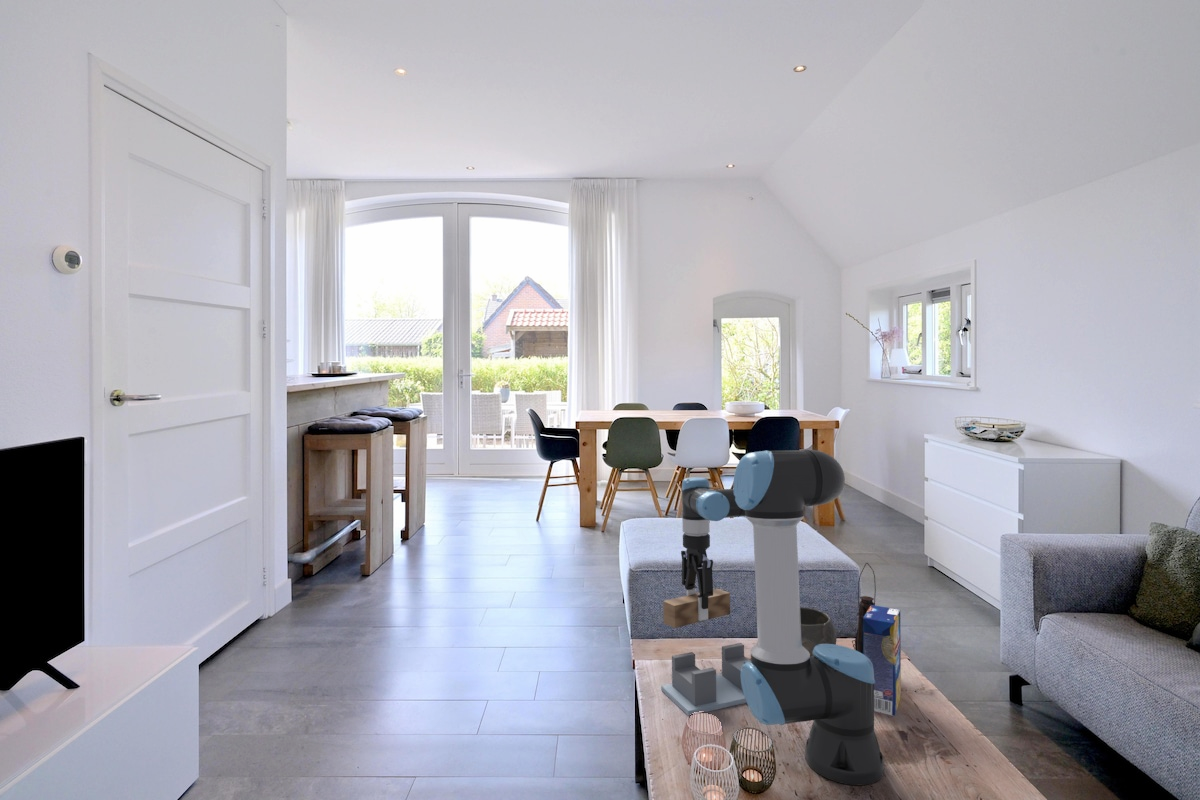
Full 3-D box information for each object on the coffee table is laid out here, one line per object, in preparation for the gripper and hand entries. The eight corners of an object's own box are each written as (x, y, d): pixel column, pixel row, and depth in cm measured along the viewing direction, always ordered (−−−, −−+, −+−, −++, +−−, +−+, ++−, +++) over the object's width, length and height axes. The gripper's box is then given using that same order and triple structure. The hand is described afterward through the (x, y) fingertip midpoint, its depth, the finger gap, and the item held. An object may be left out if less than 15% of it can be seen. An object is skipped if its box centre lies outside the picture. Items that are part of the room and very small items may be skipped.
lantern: (886, 680, 167) (886, 567, 166) (854, 678, 168) (853, 566, 168) (879, 667, 174) (879, 559, 174) (848, 665, 176) (848, 558, 176)
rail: (718, 609, 184) (717, 588, 184) (730, 614, 179) (729, 592, 180) (663, 622, 173) (663, 601, 173) (674, 628, 169) (674, 605, 169)
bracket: (778, 695, 159) (778, 659, 159) (688, 715, 150) (688, 678, 150) (746, 672, 172) (745, 639, 172) (661, 690, 163) (660, 655, 162)
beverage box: (900, 697, 158) (900, 609, 157) (894, 716, 148) (894, 623, 148) (871, 690, 161) (871, 604, 161) (863, 708, 152) (863, 618, 152)
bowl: (846, 672, 172) (846, 626, 171) (779, 673, 172) (779, 626, 172) (823, 646, 189) (823, 604, 189) (763, 646, 190) (763, 604, 189)
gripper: (726, 538, 169) (727, 624, 169) (691, 526, 186) (692, 604, 186) (701, 541, 166) (703, 629, 166) (668, 528, 184) (669, 608, 184)
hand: (697, 615), depth 176 cm, fingers closed on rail, 6 cm apart
